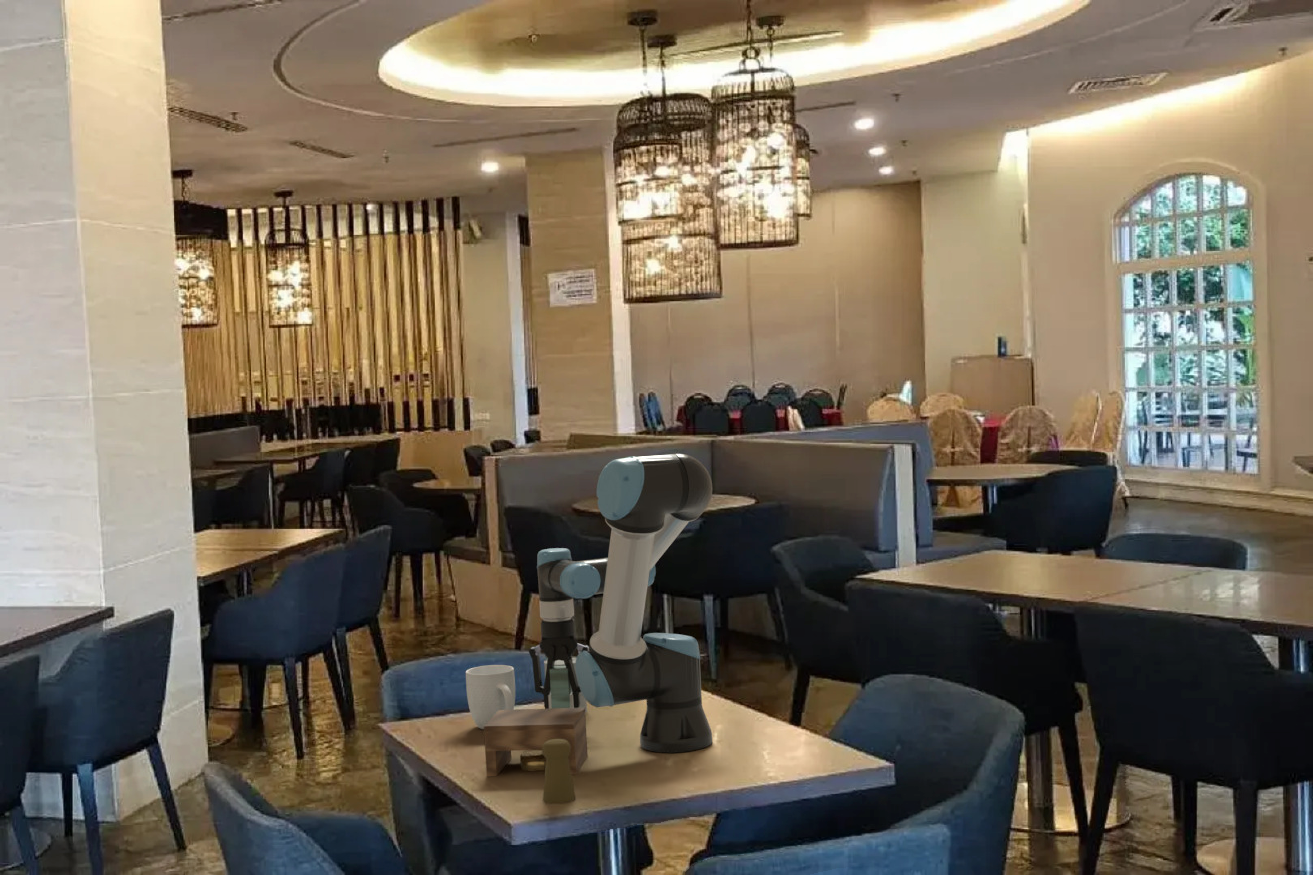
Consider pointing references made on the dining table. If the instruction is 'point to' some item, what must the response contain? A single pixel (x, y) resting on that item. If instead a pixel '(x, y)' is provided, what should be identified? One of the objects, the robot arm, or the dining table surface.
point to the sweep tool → (560, 687)
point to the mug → (489, 691)
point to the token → (533, 760)
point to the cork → (557, 772)
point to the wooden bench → (534, 734)
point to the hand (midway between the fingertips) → (563, 722)
